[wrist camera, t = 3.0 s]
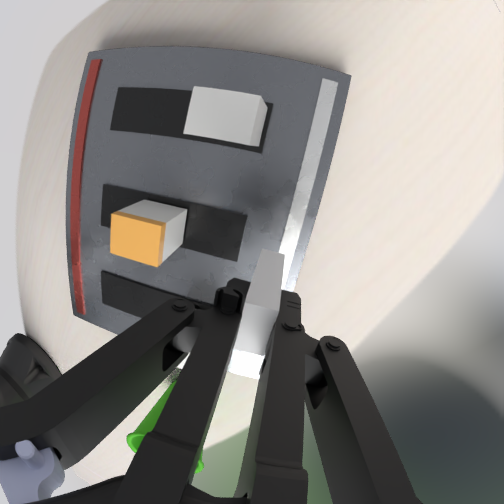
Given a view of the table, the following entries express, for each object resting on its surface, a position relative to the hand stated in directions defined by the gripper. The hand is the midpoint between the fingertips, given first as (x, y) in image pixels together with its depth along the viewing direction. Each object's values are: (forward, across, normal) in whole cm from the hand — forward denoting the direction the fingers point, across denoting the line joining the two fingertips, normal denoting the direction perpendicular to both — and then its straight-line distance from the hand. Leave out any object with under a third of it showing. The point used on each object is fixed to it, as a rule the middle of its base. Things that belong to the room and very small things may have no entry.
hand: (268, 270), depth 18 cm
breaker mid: (+4, -9, 0) cm, 10 cm away
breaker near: (+5, -5, +9) cm, 11 cm away
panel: (+7, -9, 0) cm, 12 cm away
